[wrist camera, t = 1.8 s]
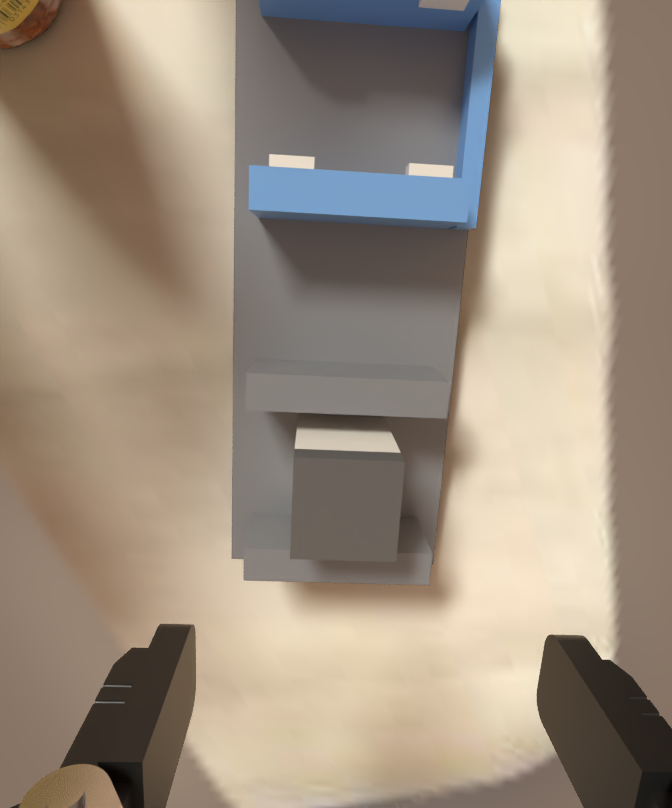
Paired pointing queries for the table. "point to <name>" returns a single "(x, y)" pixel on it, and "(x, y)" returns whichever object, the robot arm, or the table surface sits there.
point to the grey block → (345, 489)
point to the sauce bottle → (25, 20)
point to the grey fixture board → (351, 248)
